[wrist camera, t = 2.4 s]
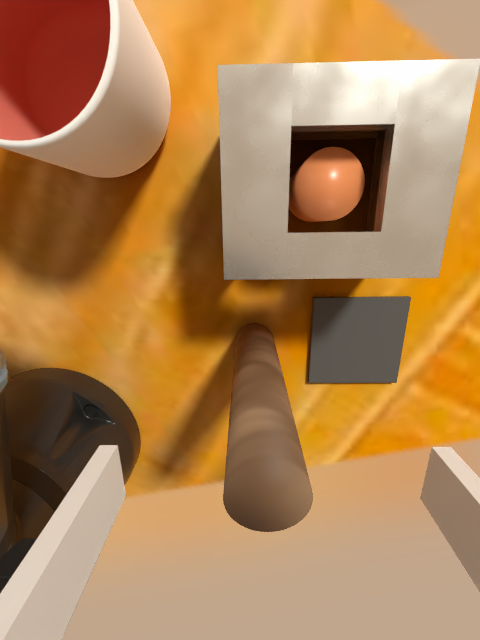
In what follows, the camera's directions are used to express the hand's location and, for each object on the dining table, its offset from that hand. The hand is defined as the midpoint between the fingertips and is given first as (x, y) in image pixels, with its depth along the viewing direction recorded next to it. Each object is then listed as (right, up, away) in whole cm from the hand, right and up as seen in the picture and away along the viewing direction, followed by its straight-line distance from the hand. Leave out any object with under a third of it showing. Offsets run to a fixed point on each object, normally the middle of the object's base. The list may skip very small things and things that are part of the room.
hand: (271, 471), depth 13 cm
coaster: (+9, +5, +14) cm, 17 cm away
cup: (-11, +22, +9) cm, 26 cm away
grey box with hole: (+4, +16, +10) cm, 19 cm away
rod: (0, +4, +14) cm, 15 cm away
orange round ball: (+4, +15, +8) cm, 18 cm away
